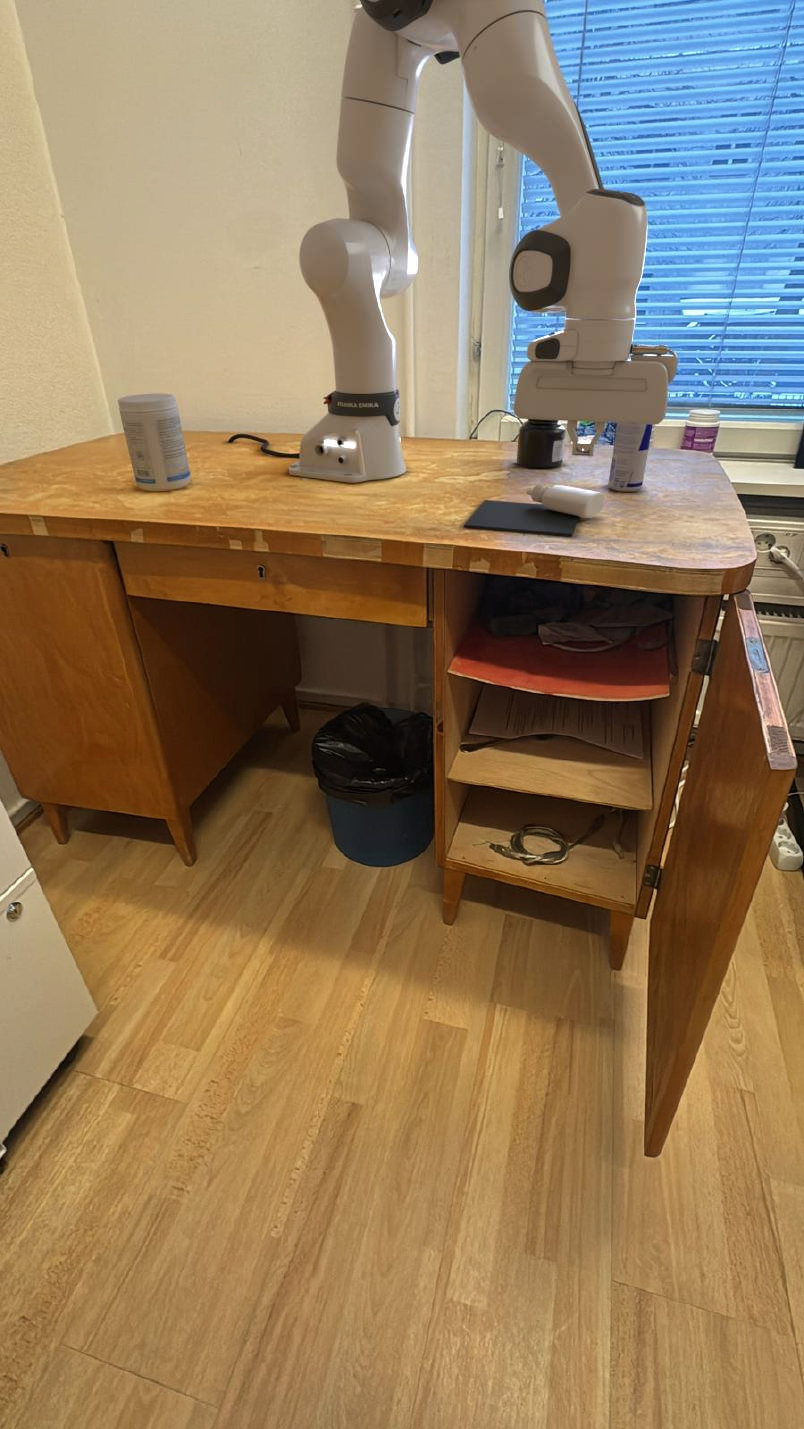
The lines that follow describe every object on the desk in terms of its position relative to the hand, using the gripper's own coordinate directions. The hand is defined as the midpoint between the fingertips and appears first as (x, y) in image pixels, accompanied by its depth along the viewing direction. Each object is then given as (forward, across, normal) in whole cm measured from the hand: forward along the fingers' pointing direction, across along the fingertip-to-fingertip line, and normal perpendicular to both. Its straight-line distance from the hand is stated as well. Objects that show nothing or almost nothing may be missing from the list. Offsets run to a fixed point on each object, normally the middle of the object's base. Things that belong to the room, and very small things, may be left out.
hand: (582, 455), depth 97 cm
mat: (+10, +7, 0) cm, 12 cm away
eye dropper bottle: (+7, -3, -2) cm, 8 cm away
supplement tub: (+10, +73, -2) cm, 74 cm away
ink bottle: (+10, +11, -37) cm, 40 cm away
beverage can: (+10, -6, -22) cm, 25 cm away
